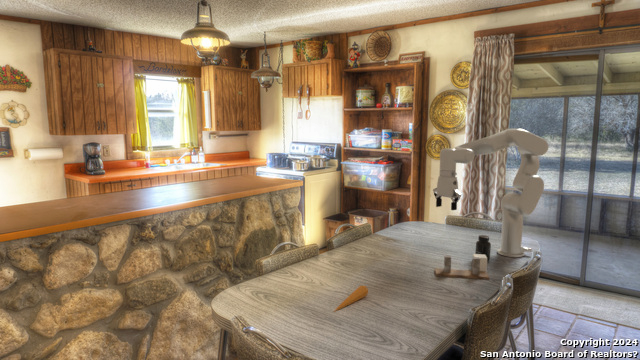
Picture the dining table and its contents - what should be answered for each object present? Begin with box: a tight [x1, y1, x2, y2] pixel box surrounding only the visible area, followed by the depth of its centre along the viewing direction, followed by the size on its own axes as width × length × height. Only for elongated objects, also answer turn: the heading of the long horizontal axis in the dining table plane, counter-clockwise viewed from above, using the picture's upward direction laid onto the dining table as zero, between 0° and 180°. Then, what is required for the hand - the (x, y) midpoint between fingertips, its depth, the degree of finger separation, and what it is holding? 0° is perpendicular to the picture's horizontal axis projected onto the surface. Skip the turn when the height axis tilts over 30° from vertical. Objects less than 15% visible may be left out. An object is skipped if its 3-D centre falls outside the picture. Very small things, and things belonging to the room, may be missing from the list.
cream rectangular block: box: [472, 253, 488, 272], centre depth 186 cm, size 5×5×7 cm
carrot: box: [334, 285, 369, 312], centre depth 152 cm, size 20×4×4 cm, turn 139°
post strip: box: [434, 254, 490, 280], centre depth 180 cm, size 22×7×8 cm, turn 79°
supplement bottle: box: [474, 234, 492, 263], centre depth 199 cm, size 7×7×12 cm
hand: (446, 208), depth 201 cm, fingers open, 9 cm apart
